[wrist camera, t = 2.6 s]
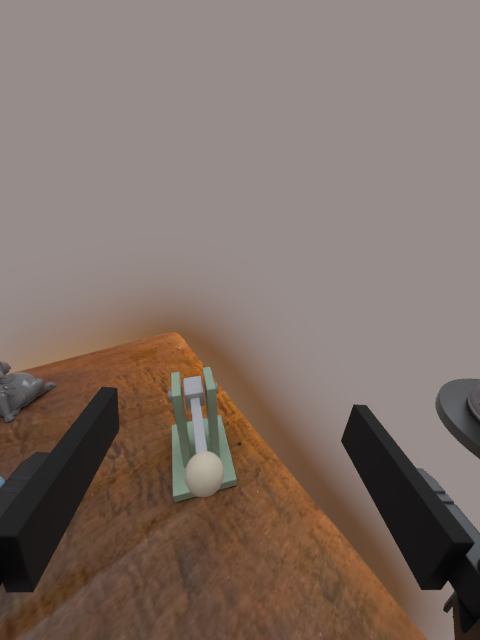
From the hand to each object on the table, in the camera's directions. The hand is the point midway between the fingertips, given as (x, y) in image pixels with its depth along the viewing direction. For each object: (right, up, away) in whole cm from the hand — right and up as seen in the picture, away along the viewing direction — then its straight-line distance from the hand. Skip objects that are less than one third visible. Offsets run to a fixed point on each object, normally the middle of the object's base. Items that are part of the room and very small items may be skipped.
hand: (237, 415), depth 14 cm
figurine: (-42, -10, +33) cm, 54 cm away
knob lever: (-4, -8, +14) cm, 17 cm away
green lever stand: (-6, -14, +22) cm, 27 cm away
